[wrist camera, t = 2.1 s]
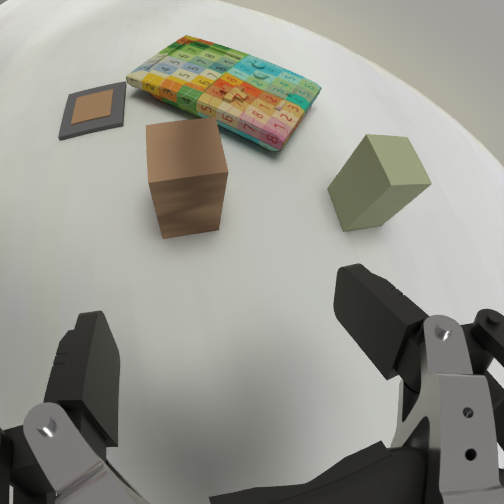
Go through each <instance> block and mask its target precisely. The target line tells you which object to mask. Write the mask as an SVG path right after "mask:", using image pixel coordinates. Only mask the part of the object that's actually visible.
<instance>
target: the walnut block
mask: <svg viewBox="0 0 504 504" xmlns="http://www.w3.org/2000/svg"><path fill="white" fill-rule="evenodd" d="M146 145H147V167H148V183H149V187H150V191H151V195H152V199H153V203H154V207H155V211H156V215H157V218H158V222H159V226H160V229H161V233H162V237H163V239H165V238H172V237H178V236H184V235H190V234H197V233H203V232H210V231H216V230H219V225H220V218H221V212H222V206H223V200H224V194H225V188H226V183H227V177H228V169H227V164H226V160H225V156H224V151H223V147H222V143H221V138H220V134H219V130H218V125H217V121H216V117H212V118H201V119H191V120H182V121H174V122H166V123H159V124H153V125H146Z"/></svg>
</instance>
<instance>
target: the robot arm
mask: <svg viewBox="0 0 504 504" xmlns="http://www.w3.org/2000/svg"><path fill="white" fill-rule="evenodd" d="M333 306H334V312H335V315H336V318H337V319H338V321H339V322H340V323H341V324H342V326H343V327H344V328H345V329H346V331H347V332H348V333H349V334H350V335H351V337H352V338H353V339H354V340H355V342H356V343H357V344H358V345H359V346H360V348H361V349H362V350H363V351H364V353H365V354H366V355H367V356H368V358H369V359H370V360H371V361H372V363H373V364H374V365H375V366H376V368H377V369H378V370H379V371H380V373H381V374H382V375H383V376H384V378H385V379H386V380H389V379H391V378H393V377H395V376H397V375H400V377H401V378H402V379H401V381H400V384H399V401H398V416H397V427H396V432H395V435H394V438H393V440H392V443H391V447H390V448H386V447H385V445H384V444H383V442H382V441H379V442H377V443H375V444H373V445H371V446H369V447H367V448H365V449H363V450H360V451H358V452H356V453H354V454H352V455H349V456H347V457H345V458H343V459H342V460H341V461H339V462H338V463H336V464H335V465H334V466H332V467H331V468H329V469H328V470H327V471H325V472H324V473H322V474H321V475H319V476H318V477H316V478H315V479H313V480H311V481H310V482H308V483H305V484H299V485H289V486H276V487H256V488H251V489H247V490H243V491H238V492H233V493H228V494H223V495H218V496H212V497H209V500H210V503H211V504H504V469H500V468H499V466H498V450H497V442H498V444H499V445H500V446H501V448H502V449H503V451H504V389H503V388H502V386H501V385H500V384H499V383H498V382H497V381H496V380H495V379H494V377H493V376H492V375H491V374H490V373H489V372H488V371H487V369H488V367H489V365H490V364H491V362H492V360H493V358H495V359H496V360H497V361H498V362H499V363H500V364H501V365H502V366H503V367H504V316H503V315H502V314H500V313H499V312H497V311H494V310H491V309H482V310H480V311H479V312H478V313H477V315H476V318H475V320H474V322H473V323H471V324H464V325H459V323H458V322H456V321H455V320H454V319H452V318H450V317H447V316H443V315H433V316H428V315H427V314H426V313H425V312H424V311H423V310H422V309H420V308H419V307H418V306H417V305H416V304H415V303H414V302H412V301H411V300H410V299H409V298H408V297H407V296H405V295H404V296H403V293H402V292H401V291H399V290H398V289H396V288H395V286H393V285H392V284H391V283H390V282H389V281H387V280H386V279H384V278H382V277H380V276H377V275H375V274H372V273H371V272H370V271H369V270H368V269H366V268H365V267H364V266H363V265H361V264H354V265H349V266H345V267H341V268H339V269H338V272H337V279H336V287H335V296H334V304H333ZM56 355H57V356H55V359H54V363H53V364H54V366H52V370H51V373H50V377H49V381H48V385H47V389H46V393H45V398H44V402H43V403H42V404H39V405H37V406H35V407H34V408H32V409H31V410H30V411H29V413H28V414H27V416H26V418H25V420H24V424H23V425H21V426H17V427H14V428H10V429H7V430H2V429H1V428H0V504H9V487H10V485H11V486H12V487H14V488H13V504H150V503H149V502H148V501H147V500H146V499H145V498H144V497H143V496H142V495H141V494H140V493H138V492H137V491H136V490H135V489H134V487H133V486H132V485H131V484H130V483H129V482H128V481H127V480H126V479H125V478H124V477H123V476H122V475H121V474H120V473H119V472H118V471H117V469H116V468H115V467H114V466H113V465H112V464H111V463H110V461H109V460H108V459H107V458H106V447H118V397H119V376H120V356H119V351H118V348H117V345H116V343H115V340H114V338H113V335H112V333H111V330H110V328H109V325H108V323H107V320H106V318H105V315H104V313H103V312H102V311H94V312H87V313H80V314H79V316H78V319H77V322H76V325H75V329H74V330H69V331H68V332H67V333H66V334H65V336H64V337H63V338H62V340H61V341H60V343H59V346H58V349H57V352H56ZM56 493H57V496H56Z"/></svg>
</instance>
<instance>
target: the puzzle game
mask: <svg viewBox="0 0 504 504" xmlns="http://www.w3.org/2000/svg"><path fill="white" fill-rule="evenodd" d="M126 80H127V83H128V84H129V85H131V86H132V87H135V88H139V89H142V90H145V91H148V92H150V93H151V94H152V96H153V97H154V98H156V99H158V100H160V101H162V102H165V103H167V104H170V105H172V106H175V107H177V108H180V109H182V110H185V111H187V112H189V113H192V114H194V115H196V116H199V117H201V118H212V117H216V121H217V125H219V126H221V127H223V128H225V129H228V130H230V131H232V132H234V133H236V134H238V135H240V136H242V137H244V138H246V139H249V140H251V141H253V142H255V143H257V144H259V145H261V146H263V147H265V148H267V149H268V150H270V151H280V150H282V148H283V147H284V145H285V144H286V142H287V141H288V139H289V138H290V136H291V135H292V133H293V132H294V130H295V129H296V127H297V126H298V124H299V123H300V121H301V120H302V118H303V117H304V115H305V114H306V112H307V111H308V109H309V108H310V106H311V105H312V104H313V102H314V101H315V99H316V98H317V96H318V95H319V93H320V90H321V87H320V86H319V85H318V84H317V83H315V82H313V81H311V80H309V79H307V78H305V77H302V76H300V75H298V74H296V73H293V72H291V71H289V70H287V69H284V68H282V67H279V66H277V65H275V64H272V63H270V62H267V61H265V60H262V59H259V58H257V57H254V56H251V55H249V54H246V53H243V52H240V51H237V50H234V49H231V48H228V47H225V46H222V45H219V44H215V43H212V42H209V41H205V40H202V39H198V38H194V37H191V36H187V35H186V36H184V37H182V38H181V39H179V40H177V41H176V42H174V43H173V44H171V45H170V46H168V47H166V48H165V49H163V50H162V51H160V52H159V53H157V54H156V55H155V56H153V57H152V58H150V59H149V60H147V61H146V62H145V63H143V64H142V65H140V66H139V67H138V68H136V69H135V70H134V71H132V72H131V73H130V74H128V75H127V76H126Z"/></svg>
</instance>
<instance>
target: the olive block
mask: <svg viewBox="0 0 504 504" xmlns="http://www.w3.org/2000/svg"><path fill="white" fill-rule="evenodd" d="M431 184H432V183H431V181H430V179H429V177H428V175H427V173H426V171H425V169H424V167H423V165H422V163H421V161H420V159H419V157H418V156H417V154H416V152H415V150H414V148H413V146H412V145H411V143H410V141H409V139H408V137H398V136H385V135H370V134H366V135H365V137H364V138H363V140H362V141H361V142H360V144H359V145H358V147H357V148H356V149H355V151H354V152H353V154H352V155H351V156H350V158H349V159H348V161H347V162H346V164H345V165H344V166H343V168H342V169H341V170H340V172H339V173H338V175H337V176H336V177H335V179H334V180H333V182H332V183H331V184H330V186H329V187H328V188H327V189H328V192H329V194H330V197H331V200H332V202H333V205H334V208H335V211H336V213H337V216H338V219H339V222H340V225H341V228H342V230H343V232H346V231H352V230H358V229H365V228H371V227H378V226H382V225H383V224H384V223H385V222H387V221H388V220H389V219H390V218H391V217H393V216H394V215H395V214H396V213H398V212H399V211H400V210H401V209H402V208H404V207H405V206H406V205H407V204H408V203H410V202H411V201H412V200H413V199H414V198H416V197H417V196H418V195H419V194H420V193H421V192H423V191H424V190H425V189H426V188H427V187H428V186H430V185H431Z"/></svg>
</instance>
